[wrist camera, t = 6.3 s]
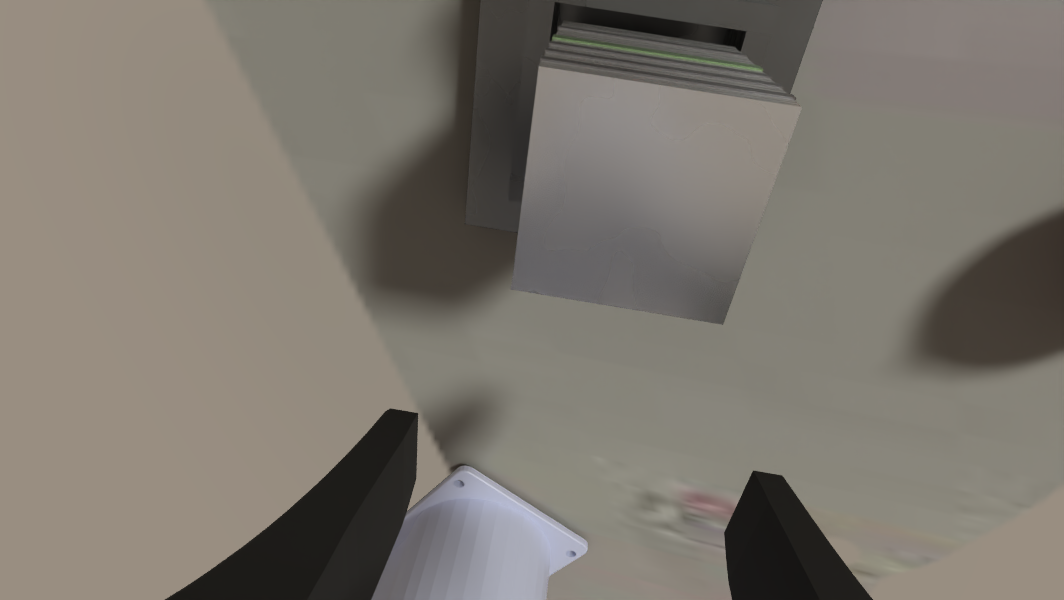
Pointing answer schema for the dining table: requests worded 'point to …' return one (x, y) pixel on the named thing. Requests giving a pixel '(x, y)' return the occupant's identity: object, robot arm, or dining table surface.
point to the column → (647, 170)
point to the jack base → (624, 3)
